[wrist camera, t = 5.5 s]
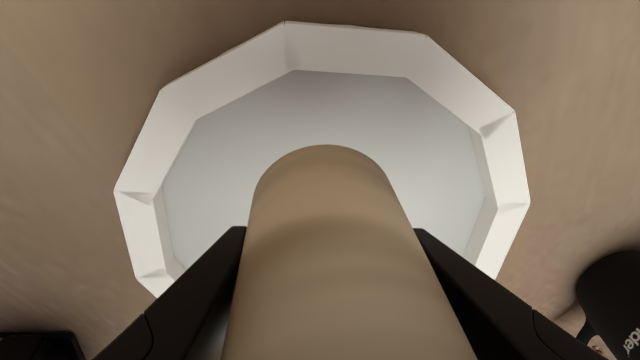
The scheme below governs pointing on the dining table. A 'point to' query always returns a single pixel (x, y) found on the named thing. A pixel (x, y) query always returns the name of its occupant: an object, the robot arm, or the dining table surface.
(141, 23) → the dining table surface
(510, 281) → the dining table surface
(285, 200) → the tan rounded cylinder
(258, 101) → the ring tray
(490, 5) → the dining table surface
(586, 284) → the mug
